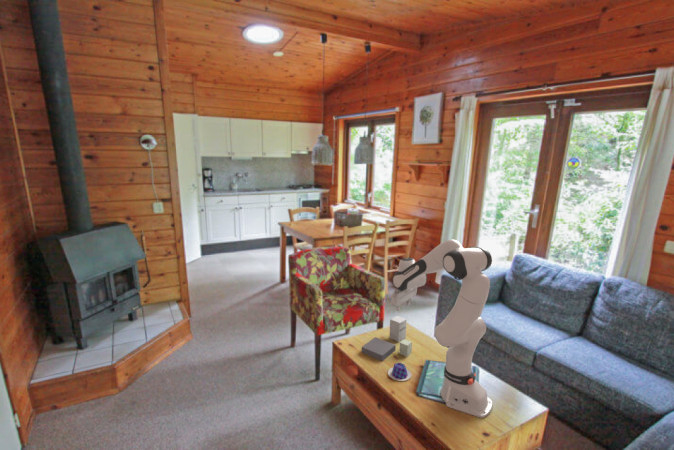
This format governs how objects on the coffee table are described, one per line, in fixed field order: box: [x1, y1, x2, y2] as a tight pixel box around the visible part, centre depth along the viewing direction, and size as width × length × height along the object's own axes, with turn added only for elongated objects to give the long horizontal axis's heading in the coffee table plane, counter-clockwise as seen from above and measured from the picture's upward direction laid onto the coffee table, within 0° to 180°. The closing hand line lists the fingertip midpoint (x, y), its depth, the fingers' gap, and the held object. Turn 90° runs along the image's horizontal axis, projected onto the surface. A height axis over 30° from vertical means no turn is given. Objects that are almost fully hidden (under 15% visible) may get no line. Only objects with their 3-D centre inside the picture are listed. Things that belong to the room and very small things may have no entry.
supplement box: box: [389, 315, 407, 343], centre depth 212 cm, size 7×7×13 cm
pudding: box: [387, 362, 412, 382], centre depth 178 cm, size 12×12×5 cm
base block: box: [361, 336, 396, 362], centre depth 199 cm, size 14×14×4 cm
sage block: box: [398, 338, 413, 358], centre depth 196 cm, size 5×5×7 cm
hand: (403, 307), depth 196 cm, fingers open, 8 cm apart
